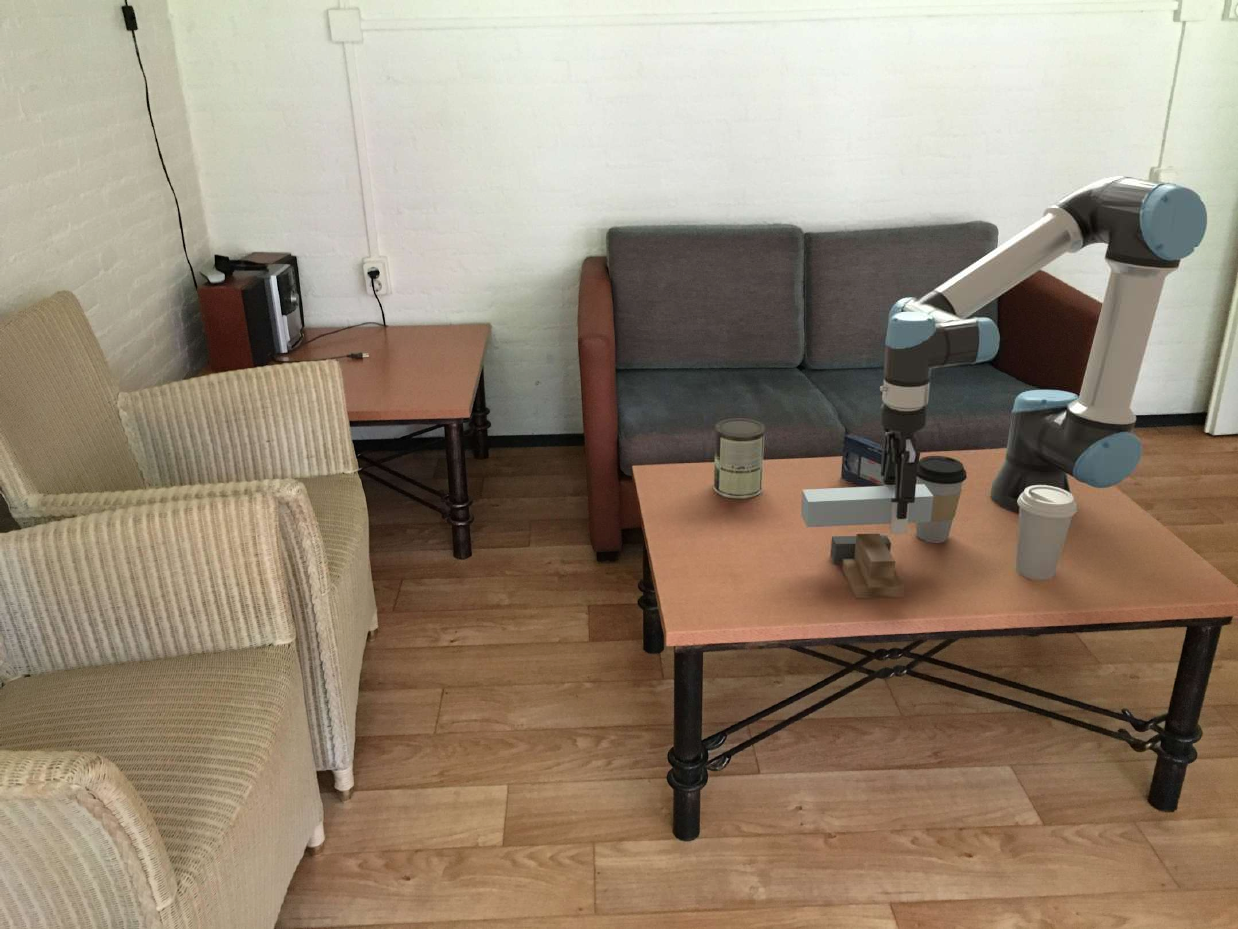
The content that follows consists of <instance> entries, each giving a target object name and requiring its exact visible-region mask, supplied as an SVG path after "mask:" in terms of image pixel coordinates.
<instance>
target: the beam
mask: <svg viewBox="0 0 1238 929" xmlns="http://www.w3.org/2000/svg"><path fill="white" fill-rule="evenodd" d="M801 494H802V496H801V518H802V519H803V521H804V524H805V526H806V528H820V527H821V528H822V527H842V526H846V527H847V526H864V525H865V526H866V525H868V526H869V525H885V524H889V525H891V516H892V504H893V502H891V498H895V486H873V487H861V486H856V487H855V486H853V487H851V486H850V487H835V488H834V487H832V488H830V487H829V488H814V489H813V488H812V489H811V488H810V489H809V488H808V489H802V492H801ZM932 505H933V495H932V494H931V492H930V491H929V490H928V488H927V487H926V486H925V484H918V485H916V490H915V501H914V503H909V512H908V522H907V524H908V523H910V524H911V523H916V522H931V515H932Z"/></svg>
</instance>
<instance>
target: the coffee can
mask: <svg viewBox="0 0 1238 929" xmlns="http://www.w3.org/2000/svg"><path fill="white" fill-rule="evenodd" d="M714 426H715V427H714V431H715V437H714V438H715V439H714V440H715V442H714V443H715V445H714V470H713V471H714V472H713V473H714V475H713V478H714V479H713V491H714V492H715V493H716V494H718V495H720V496H722V497H724V498H729V499H736V500H737V499H744V500H745V499H749V498H754V497H757V496H758V495H760V494H761V493H762V490H763V488H762V487H763V486H762V485H763V481H762V480H763V468H764V467H763V464H764V449H765V448H764V447H765V446H764V445H765V433H766V426H765V425H764V423H762V422H760V421H757V420H754V419H750V418H741V417H740V418H738V417H735V418H728V419H724V420H720V421H718V422H717V423H715V425H714Z"/></svg>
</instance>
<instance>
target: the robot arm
mask: <svg viewBox="0 0 1238 929" xmlns="http://www.w3.org/2000/svg"><path fill="white" fill-rule="evenodd" d="M1207 213H1208V212H1207V208H1206V205H1205V203H1204V202H1203V201H1202V199H1201V196H1200V195H1199V194H1198V193H1197V192H1196V191H1194V190H1193V189H1190V188H1188V187H1185V186H1181V185H1179V184H1178V185H1177V184H1176V183H1170V182H1164V181H1163V182H1162V181H1158V180H1157V181H1156V180H1155V181H1154V180H1146V179H1140V178H1134V177H1130V176H1124V175H1123V176H1112V177H1107V178H1103V179H1100V180H1096V181H1094V182H1091V183H1090V184H1087V185H1085V186H1083V187H1081V188H1079V189H1076V190H1075V191H1072V192H1071V193H1069V194H1068V195H1066V196H1064V197H1062V198H1061V199H1059V200H1057V201H1056V202H1055V203H1053V204H1052V205H1050V206H1049V207H1047V208H1045V210H1044V211H1043V214H1042V218H1040V219H1038V220H1037V221H1036V222H1034V223H1033V224H1031V225H1030V226H1028V227H1027V228H1025V229H1024V230H1022V231H1020V232H1019V233H1018V234H1016V235H1015V236H1013V237H1011V238H1010V239H1009V240H1007V241H1005V242H1004V243H1002V244H1001V245H1000V246H998V247H996V248H995V249H994V250H992V251H990V252H988V254H986V255H984V256H983V257H981V258H980V259H978V260H977V261H975V262H974V263H972V264H971V265H969V266H968V267H966V268H965V269H963V270H962V271H960V272H959V273H957V274H956V275H954V276H953V277H951V278H949V279H948V280H946V281H945V282H944V283H942V284H941V285H938V286H937V287H936V288H934V289H933V290H931V291H930V292H928V293H926V294H924V295H923V296H922V297H919V298H918V297H911V296H910V297H903V298H901V299H899V300H897V302H895V303H894V305H892V307H891V309H890V311H889V314H888V326H887V330H886V336H885V340H884V341H885V353H884V354H885V355H884V368H883V371H884V372H883V385H881V386H879V391H880V392H882V395H881V397H882V398H881V399H882V400H881V401H882V403H881V406H880V420H879V422H880V425H881V426H882V428H883V441H882V446H883V452H882V464H881V476H884V478H883V482H884V484H886V485H884V486H895V498H891V502H893V504H892V516H891V524H890V529H889V533H890V534H891V535H899V534H902V535H903V534H907V531H908V523H907V522H908V512H909V503H914V501H915V490H916V479H917V468H918V461H920V457H921V452H920V450H915V449H916V445H917V443H916V442H917V440H916V439H917V438H916V437H915V433H916V432H918V431H921V430H922V429H924V428H925V426H926V421H927V411H928V407H927V404H928V403H929V397H930V396H929V395H930V384H931V381H930V380H931V373H932V369H939V368H944V367H951V366H952V367H954V366H962V365H974V364H976V363H977V364H978V363H981V362H986V361H990V360H991V359H993V358H994V357H995V356H996V354H997V353H998V350H999V349H1000V341H1001V337H1000V336H1001V335H1000V332H999V328H998V326H997V324H996V323H995V322H994V321H993V320H992V319H991V318H989V317H986V316H985V317H976V316H974V317H971V318H970V316H971V315H972V314H974V313H975V312H977V311H979V310H980V309H982V308H983V307H984V306H986V305H988V304H989V303H991V302H992V301H994V300H995V299H997V298H999V297H1000V296H1002V295H1003V294H1005V293H1006V292H1008V291H1009V290H1010V289H1012V288H1014V287H1015V286H1017V285H1018V284H1020V283H1021V282H1023V281H1025V280H1026V279H1027V278H1029V277H1031V276H1032V275H1034V274H1036V273H1037V272H1038V271H1040V270H1042V269H1043V268H1045V267H1046V266H1047V265H1050V264H1051V263H1052V262H1054V261H1055V260H1056V259H1058V258H1060V257H1061V256H1063V255H1065V254H1066V253H1069V254H1076V253H1077V252H1079V251H1081V250H1082V249H1084V248H1085V247H1087V246H1090V245H1095V244H1105V245H1107V248H1106V250H1105V254H1104V260H1105V262H1106V263H1107V264H1108V267H1110V274H1109V277H1108V282H1107V284H1106V285H1107V286H1106V289H1105V294H1104V296H1103V297H1104V298H1103V301H1102V306H1101V311H1100V314H1099V317H1098V321H1097V325H1096V329H1095V332H1094V337H1093V341H1092V344H1091V349H1090V351H1089V352H1090V353H1089V357H1088V361H1087V364H1086V365H1087V366H1086V369H1085V373H1084V376H1083V381H1082V384H1081V388H1080V392H1079V396H1078V395H1077V394H1075V393H1073V392H1069V391H1066V390H1065V391H1064V390H1058V389H1034V390H1027V391H1024V392H1023V391H1022V392H1021V393H1019V394H1018V395H1017V396H1016V398H1015V400H1014V404H1013V408H1012V410H1011V418H1010V423H1009V424H1010V425H1009V431H1008V439H1007V445H1006V450H1005V451H1006V453H1005V458H1004V461H1003V463H1002V465H1001V467H1000V469H999V470H998V472H997V474H996V476H995V477H994V480H992V484H991V488H990V497H991V499H992V500H993V502H994V503H996V504H997V505H998V506H1001V507H1003V508H1004V509H1008V510H1010V511H1013V512H1016V513H1019V509H1020V506H1019V505H1018V503H1017V500H1018V498H1019V496H1020V495H1021V494H1022V493H1023V492H1024V490H1025V489H1026V488H1027V487H1030V486H1034V485H1047V486H1053V487H1058V488H1061V489H1063V490H1066V491H1068V492H1069V493H1071V488H1070V483H1069V482H1070V481H1069V476H1071V477H1072V478H1074V479H1075V480H1076V481H1077V482H1080V483H1083V484H1086V485H1088V486H1090V487H1093V488H1096V489H1097V488H1098V489H1105V488H1111V487H1115V486H1116V485H1118V484H1120V483H1121V482H1123V481H1124V479H1126V478H1128V477H1129V476H1131V474H1133V472H1134V471H1135V469H1136V468H1137V467H1138V465H1139V463H1140V461H1141V459H1142V456H1143V443H1141V439H1140V438H1139V437H1138V436H1137V435H1136V434H1135V433H1134V428H1135V425H1136V421H1137V416H1136V415H1135V412H1133V411H1132V409H1131V404H1132V401H1133V397H1134V394H1135V389H1136V386H1137V383H1138V379H1139V374H1140V371H1141V368H1142V364H1143V360H1144V357H1145V353H1146V350H1147V346H1148V341H1149V338H1150V335H1151V332H1152V327H1153V324H1154V320H1155V317H1156V313H1157V310H1158V306H1159V302H1160V299H1161V295H1162V291H1163V287H1164V284H1165V280H1166V278H1167V276H1170V275H1171V274H1172V273H1173V272H1175V271H1176V270H1178V269H1179V266H1180V263H1181V260H1182V259H1184V258H1187V257H1189V256H1190V255H1192V254H1193V253H1194V252H1195V248H1197V247H1199V246H1200V244H1201V243H1202V241H1203V239H1204V237H1205V234H1206V232H1207V228H1208V227H1207V226H1208V214H1207ZM968 317H969V318H968ZM1068 475H1069V476H1068ZM1071 494H1072V493H1071Z"/></svg>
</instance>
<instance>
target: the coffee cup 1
mask: <svg viewBox="0 0 1238 929" xmlns="http://www.w3.org/2000/svg"><path fill="white" fill-rule="evenodd" d="M967 477H968V476H967V471H966V469H965V468H964V464H963V463H962V462H961V461H960V460H958V459H955V458H953V457H949V456H945V455H929V456H927V455H926V456H923V457H921V458H919V463H918V468H917V483H916V485H918V484H925V486H926V487H927V488H928V490H929V491H930V492H931V494H932V495H933V505H932V515H931V522H915V534H916V537H917V538H918V539H920V540H922V541H925V542H927V543H931V544H939V543H940V544H941V543H943V542H946V541H947V540H948V539H949V536H950V532H951V528H952V524H953V520H954V518H955V517H956V513H957V510H958V504H959V501H960V498H961V494H962V486H963V482H964V481H965V480H967Z"/></svg>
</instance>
